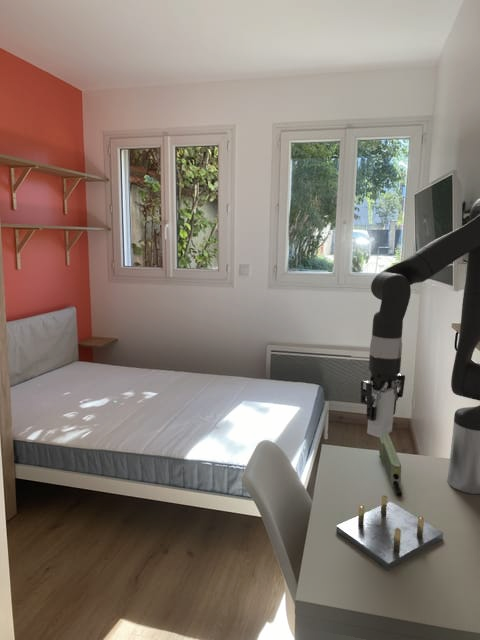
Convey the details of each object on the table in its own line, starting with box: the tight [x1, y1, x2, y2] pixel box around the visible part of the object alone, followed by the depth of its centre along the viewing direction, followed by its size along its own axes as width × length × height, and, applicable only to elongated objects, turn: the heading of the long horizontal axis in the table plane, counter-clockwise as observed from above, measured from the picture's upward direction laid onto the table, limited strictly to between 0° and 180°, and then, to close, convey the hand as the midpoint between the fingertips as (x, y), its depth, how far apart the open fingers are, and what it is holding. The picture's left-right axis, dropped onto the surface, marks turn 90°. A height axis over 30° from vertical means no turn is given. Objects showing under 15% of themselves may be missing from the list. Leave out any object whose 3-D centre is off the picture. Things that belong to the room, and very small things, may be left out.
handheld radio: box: [378, 433, 403, 498], centre depth 125 cm, size 7×3×25 cm
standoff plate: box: [336, 495, 444, 571], centre depth 99 cm, size 18×14×6 cm
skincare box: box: [366, 388, 395, 439], centre depth 114 cm, size 6×4×12 cm
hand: (380, 416), depth 115 cm, fingers closed on skincare box, 6 cm apart
